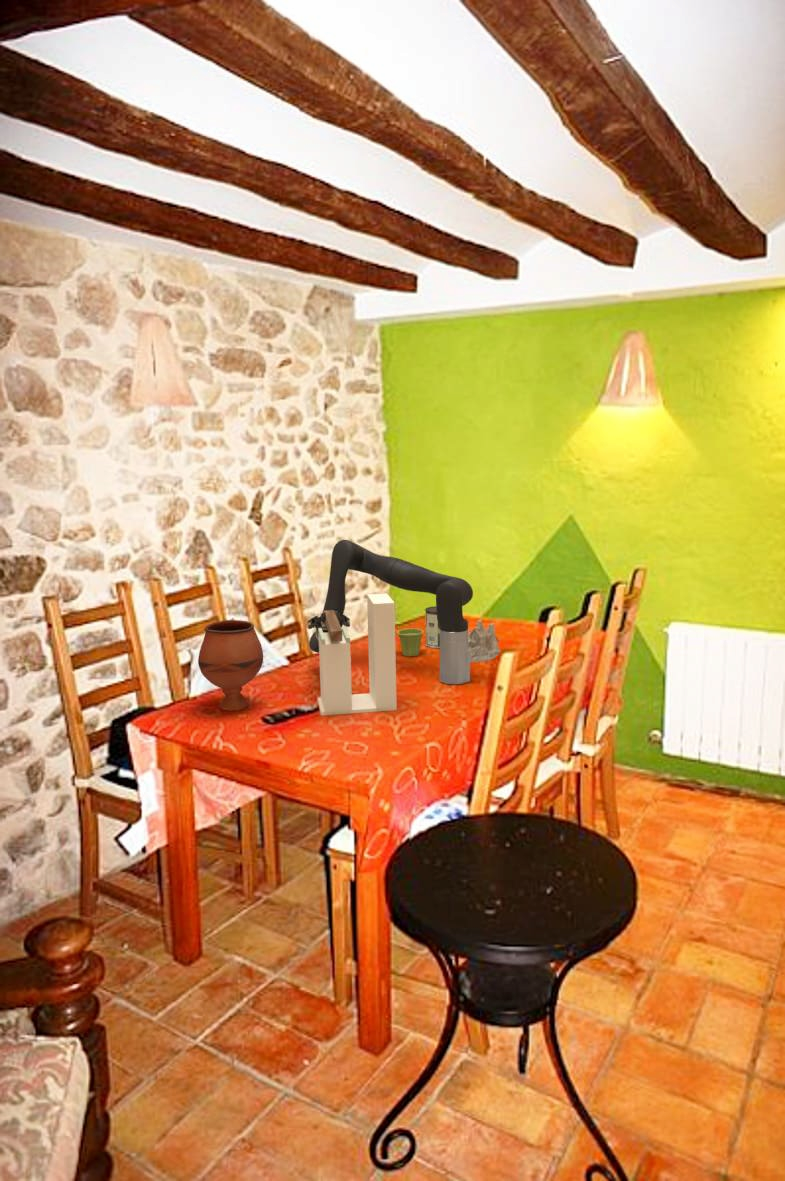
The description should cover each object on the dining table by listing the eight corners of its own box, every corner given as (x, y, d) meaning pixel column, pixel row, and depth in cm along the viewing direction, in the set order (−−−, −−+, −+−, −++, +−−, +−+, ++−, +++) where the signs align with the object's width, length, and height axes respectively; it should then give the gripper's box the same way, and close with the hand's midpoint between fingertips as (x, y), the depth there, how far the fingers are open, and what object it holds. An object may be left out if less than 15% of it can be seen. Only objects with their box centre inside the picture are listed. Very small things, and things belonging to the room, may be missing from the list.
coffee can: (454, 642, 310) (454, 606, 307) (450, 649, 300) (450, 612, 297) (427, 641, 312) (427, 605, 309) (423, 648, 302) (423, 611, 299)
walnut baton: (334, 619, 248) (333, 610, 248) (342, 641, 223) (342, 630, 223) (324, 620, 248) (324, 610, 247) (331, 641, 223) (331, 631, 222)
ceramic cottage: (508, 656, 288) (505, 615, 285) (474, 666, 278) (471, 624, 276) (478, 650, 300) (475, 611, 298) (445, 660, 291) (442, 619, 288)
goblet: (214, 721, 228) (209, 636, 223) (192, 703, 244) (187, 623, 239) (276, 708, 238) (272, 626, 233) (251, 691, 254) (247, 614, 249)
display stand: (389, 695, 248) (386, 593, 242) (396, 710, 234) (394, 602, 228) (317, 700, 245) (313, 597, 238) (321, 715, 231) (316, 606, 225)
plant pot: (413, 659, 286) (413, 636, 285) (392, 655, 292) (392, 632, 290) (428, 653, 294) (428, 630, 292) (407, 649, 299) (407, 627, 298)
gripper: (304, 620, 258) (306, 604, 242) (348, 618, 260) (352, 601, 244) (306, 643, 256) (308, 628, 239) (350, 640, 258) (354, 625, 242)
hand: (330, 614), depth 242 cm, fingers closed on walnut baton, 3 cm apart
